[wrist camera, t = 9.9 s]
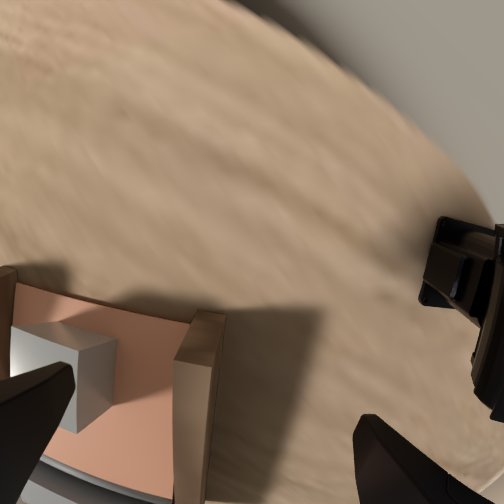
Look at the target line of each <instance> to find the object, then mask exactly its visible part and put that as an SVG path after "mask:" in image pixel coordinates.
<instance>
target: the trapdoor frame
mask: <svg viewBox="0 0 504 504" xmlns="http://www.w3.org/2000/svg"><path fill="white" fill-rule="evenodd" d="M16 283H18V275H17V270H16V269H13V268H9V267H6V266H1V267H0V380H4V379H7V378H10V347H11V326H12V324H13V310H14V299H15V290H16ZM225 320H226V315H224V314H218V313H212V312H206V311H200V310H197V312H196V314H195V316H194V318H193V320H192V322H191V325H190V327H189V329H188V331H187V333H186V335H185V337H184V339H183V341H182V343H181V345H180V347H179V349H178V351H177V353H176V355H175V358H174V360H173V397H172V435H173V475H174V498H173V502H172V504H204V503H205V495H206V485H207V475H208V466H209V456H210V447H211V438H212V429H213V420H214V411H215V402H216V394H217V385H218V377H219V369H220V360H221V352H222V344H223V336H224V328H225Z"/></svg>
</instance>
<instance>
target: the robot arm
mask: <svg viewBox="0 0 504 504" xmlns="http://www.w3.org/2000/svg"><path fill="white" fill-rule="evenodd" d="M444 221H445V226H444V227H443V226H442V224H443V222H444ZM495 235H496V237H495ZM423 279H424V280H423V283H422V287H421V290H420V294H419V298H418V300H419V302H420V303H421V304H422V305H424V306H431V307H441V308H451V309H456V310H458V311H459V312H460V313H461V314H463V315H464V316H465V317H466V318H468V319H469V320H470V321H471V322H473V323H474V324H475V325H476V326H478V327H479V328H480V333H479V337H478V340H477V344H476V348H475V351H474V352H473V354H472V357H471V364H472V371H471V377H472V380H473V384H474V386H475V388H474V394H475V395H476V396H477V397H478V399H479V400H480V401H481V402H482V403H483V404H484V405H485V406H487V407H488V408H489V409H491V410H492V412H491V415H490V419H491V420H495V421H498V422H502V423H504V224H495V230H491V229H488V228H484V227H481V226H477V225H474V224H470V223H467V222H463V221H459V220H456V219H452V218H448V217H444V216H442V217H440V218H439V219H438V221H437V225H436V230H435V235H434V239H433V244H432V245H431V247H430V251H429V256H428V260H427V264H426V268H425V272H424V275H423ZM426 296H427V298H426V300H424V297H426ZM423 300H424V301H423ZM75 388H76V384H75V378H74V373H73V368H72V366H71V365H70V364H68V363H66V362H63V361H58V362H55V363H52V364H49V365H47V366H44V367H41V368H38V369H34V370H31V371H28V372H25V373H22V374H19V375H16V376H13V377H10V378H7V379H4V380H0V504H16V502H17V501H18V499H19V497H20V495H21V493H22V491H23V489H24V487H25V485H26V483H27V482H28V480H29V478H30V476H31V474H32V472H33V470H34V469H35V467H36V465H37V463H38V461H39V460H40V458H41V456H42V454H43V453H44V451H45V449H46V447H47V446H48V444H49V442H50V440H51V439H52V437H53V435H54V434H55V432H56V430H57V428H58V426H59V425H60V422H61V420H62V418H63V416H64V414H65V411H66V409H67V407H68V405H69V403H70V400H71V398H72V396H73V394H74V392H75ZM353 451H354V465H355V478H356V484H357V490H358V495H359V500H360V504H495V503H493V502H491V501H490V500H487V499H486V498H484V497H482V496H481V495H479V494H478V493H476V492H475V491H473V490H471V489H470V488H468V487H467V486H465V485H464V484H463V483H461V482H460V481H458V480H457V479H456V478H454V477H453V476H452V475H451V474H448V472H447V471H445V470H444V469H443V468H441V467H440V466H439V465H438V464H436V463H435V462H434V461H432V460H431V459H430V458H429V457H427V456H426V455H425V454H424V453H422V452H421V451H420V450H419V449H417V448H416V447H415V446H414V445H412V444H411V443H410V442H409V441H408V440H406V439H405V438H404V437H403V436H401V435H400V434H399V433H398V432H397V431H395V430H394V429H393V428H392V427H390V426H389V425H388V424H387V423H386V422H384V421H383V420H382V419H381V418H380V417H378V416H377V415H376V414H363V415H362V416H361V418H360V420H359V422H358V424H357V426H356V428H355V430H354V433H353Z"/></svg>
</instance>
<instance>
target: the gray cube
mask: <svg viewBox="0 0 504 504" xmlns="http://www.w3.org/2000/svg"><path fill="white" fill-rule="evenodd" d="M117 345H118V338H115V337H111V336H107V335H104V334H100V333H96V332H93V331H89V330H86V329H82V328H79V327H76V326H72V325H69V324H66V323H63V322H60V321H55V322H46V323H37V324H27V325H17V326H11V347H10V377H13V376H16V375H19V374H22V373H25V372H28V371H31V370H34V369H38V368H41V367H44V366H47V365H49V364H52V363H55V362H58V361H63V362H66V363H68V364H70V365H71V366H72V368H73V373H74V378H75V384H76V388H75V392H74V394H73V396H72V398H71V400H70V403H69V405H68V407H67V409H66V411H65V414H64V416H63V418H62V420H61V422H60V425H59V426H58V427H60V428H63V429H65V430H67V431H70V432H72V433H75V434H78V433H79V432H81V431H82V430H83V429H84V428H86V427H87V426H88V425H89V424H91V423H92V422H93V421H95V420H96V419H97V418H98V417H100V416H101V415H102V414H103V413H105V412H106V411H107V410H108V409H110V408H111V407H112V406H113V394H114V379H115V366H116V355H117Z"/></svg>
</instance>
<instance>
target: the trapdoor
mask: <svg viewBox="0 0 504 504" xmlns="http://www.w3.org/2000/svg"><path fill="white" fill-rule="evenodd" d="M55 321H60V322H63V323H66V324H69V325H72V326H76V327H79V328H82V329H86V330H89V331H93V332H96V333H100V334H104V335H107V336H111V337H115V338H118V345H117V355H116V366H115V379H114V394H113V406H112V407H111V408H110V409H108V410H107V411H106V412H105V413H103V414H102V415H101V416H100V417H98V418H97V419H96V420H95V421H93V422H92V423H91V424H89V425H88V426H87V427H86V428H84V429H83V430H82V431H81V432H79V433H78V434H75V433H72V432H70V431H67V430H65V429H63V428H60V427H58V428H57V430H56V432H55V434H54V435H53V437H52V439H51V440H50V442H49V444H48V446H47V447H46V449H45V451H44V453H43V454H42V456H41V458H40V460H39V461H38V463H37V465H36V467H35V469H34V470H33V472H32V474H31V476H30V478H29V480H28V482H27V483H26V485H25V487H24V489H23V491H22V493H21V497H22V500H23V501H25V502H26V503H28V504H172V502H173V498H174V475H173V435H172V397H173V360H174V358H175V355H176V353H177V351H178V349H179V347H180V345H181V343H182V341H183V339H184V337H185V335H186V333H187V331H188V329H189V327H190V325H191V324H189V323H183V322H178V321H173V320H168V319H163V318H158V317H153V316H148V315H143V314H139V313H134V312H129V311H125V310H121V309H116V308H112V307H108V306H103V305H99V304H95V303H91V302H87V301H83V300H79V299H75V298H72V297H68V296H64V295H60V294H57V293H53V292H49V291H46V290H42V289H39V288H35V287H32V286H29V285H25V284H22V283H16V290H15V299H14V310H13V324H12V326H17V325H27V324H37V323H46V322H55Z"/></svg>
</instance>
